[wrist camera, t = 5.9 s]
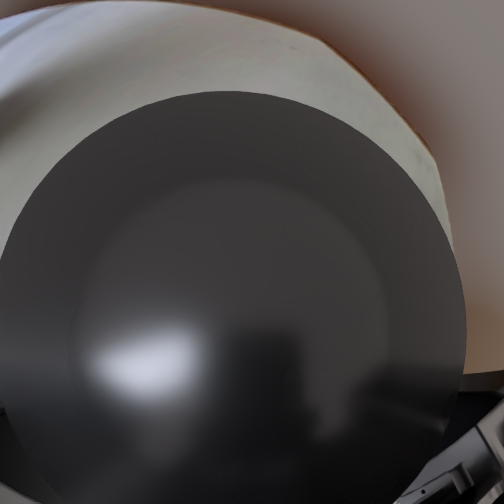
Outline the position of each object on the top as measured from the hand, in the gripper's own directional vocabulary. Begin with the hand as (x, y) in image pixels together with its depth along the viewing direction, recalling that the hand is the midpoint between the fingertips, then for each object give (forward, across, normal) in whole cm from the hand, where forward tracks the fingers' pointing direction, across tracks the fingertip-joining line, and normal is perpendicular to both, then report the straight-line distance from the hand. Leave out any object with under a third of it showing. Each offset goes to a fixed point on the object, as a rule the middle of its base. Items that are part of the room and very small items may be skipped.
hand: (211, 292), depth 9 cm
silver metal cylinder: (+4, 0, +6) cm, 7 cm away
